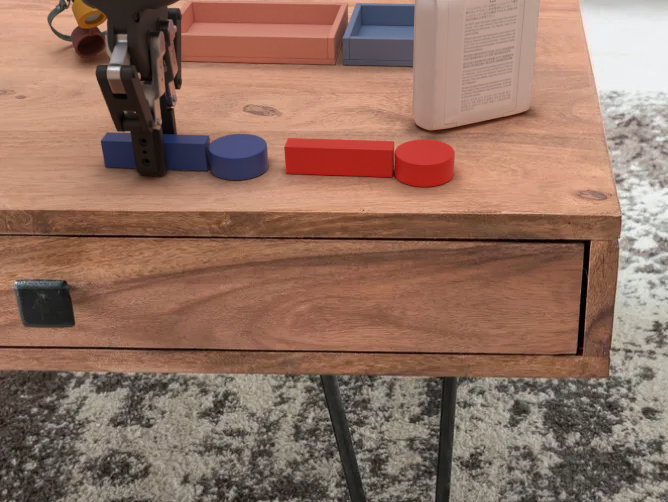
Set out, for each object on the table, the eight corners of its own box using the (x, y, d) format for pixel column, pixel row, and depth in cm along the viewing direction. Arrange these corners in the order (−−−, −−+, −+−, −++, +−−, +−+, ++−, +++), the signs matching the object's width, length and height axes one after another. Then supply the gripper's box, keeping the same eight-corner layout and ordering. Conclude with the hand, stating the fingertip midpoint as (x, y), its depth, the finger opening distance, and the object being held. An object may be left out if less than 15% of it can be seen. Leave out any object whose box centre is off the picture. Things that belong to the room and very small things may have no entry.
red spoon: (282, 182, 77) (280, 154, 76) (292, 156, 81) (290, 129, 80) (452, 188, 76) (453, 160, 75) (455, 161, 80) (456, 134, 78)
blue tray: (343, 64, 97) (342, 38, 95) (356, 28, 105) (355, 2, 103) (521, 69, 95) (523, 41, 93) (520, 31, 103) (522, 5, 101)
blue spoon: (99, 175, 79) (94, 148, 78) (116, 151, 83) (112, 124, 81) (262, 181, 78) (260, 153, 76) (273, 156, 81) (271, 129, 80)
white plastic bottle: (510, 95, 90) (520, -56, 83) (538, 112, 87) (552, -43, 79) (404, 118, 86) (405, -37, 79) (429, 138, 83) (433, -23, 76)
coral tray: (163, 60, 98) (159, 34, 97) (190, 25, 107) (187, 0, 105) (334, 64, 97) (333, 37, 95) (348, 28, 105) (347, 2, 103)
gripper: (102, -100, 76) (137, 125, 86) (32, -46, 65) (81, 205, 75) (204, -99, 75) (226, 128, 85) (150, -45, 64) (183, 209, 74)
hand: (158, 163), depth 80 cm, fingers open, 3 cm apart
